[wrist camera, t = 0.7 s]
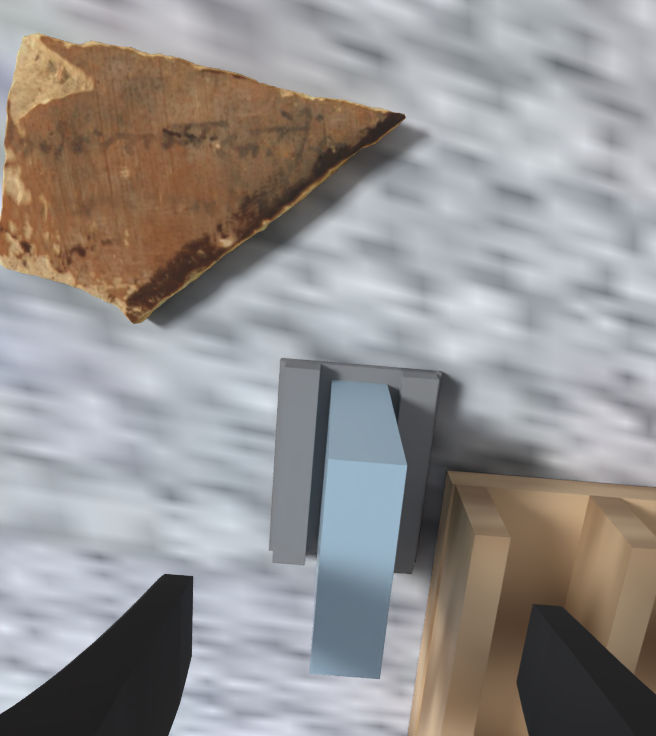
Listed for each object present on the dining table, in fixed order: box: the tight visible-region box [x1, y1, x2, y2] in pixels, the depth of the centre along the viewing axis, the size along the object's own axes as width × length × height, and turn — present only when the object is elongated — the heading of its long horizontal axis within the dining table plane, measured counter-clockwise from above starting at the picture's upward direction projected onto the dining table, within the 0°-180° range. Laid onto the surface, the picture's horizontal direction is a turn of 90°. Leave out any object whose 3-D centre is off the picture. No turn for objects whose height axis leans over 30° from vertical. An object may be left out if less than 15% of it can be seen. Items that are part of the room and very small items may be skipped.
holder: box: [269, 358, 442, 574], centre depth 20 cm, size 7×5×1 cm
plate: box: [310, 380, 407, 679], centre depth 17 cm, size 6×2×6 cm, turn 175°
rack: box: [408, 470, 656, 736], centre depth 20 cm, size 12×14×4 cm
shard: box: [0, 33, 406, 324], centre depth 18 cm, size 11×8×2 cm
